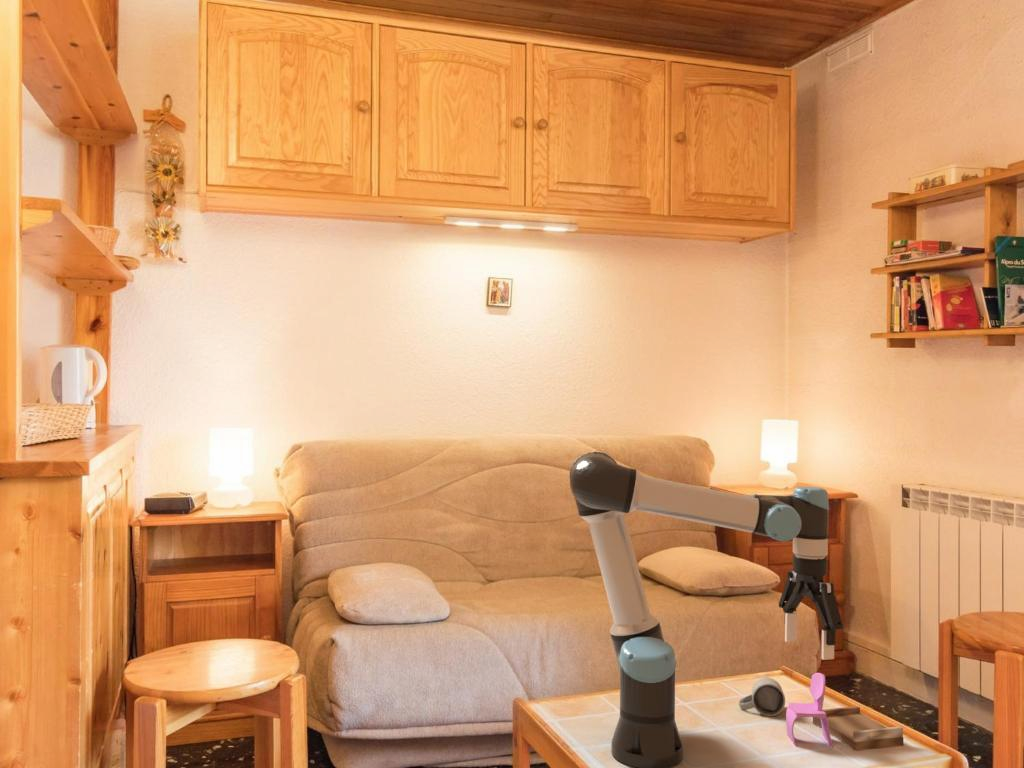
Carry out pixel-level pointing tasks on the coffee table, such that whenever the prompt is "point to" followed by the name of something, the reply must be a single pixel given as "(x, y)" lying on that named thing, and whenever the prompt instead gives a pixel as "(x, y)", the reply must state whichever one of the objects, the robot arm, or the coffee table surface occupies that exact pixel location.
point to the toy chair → (810, 708)
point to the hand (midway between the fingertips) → (808, 649)
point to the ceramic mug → (765, 697)
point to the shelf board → (860, 729)
